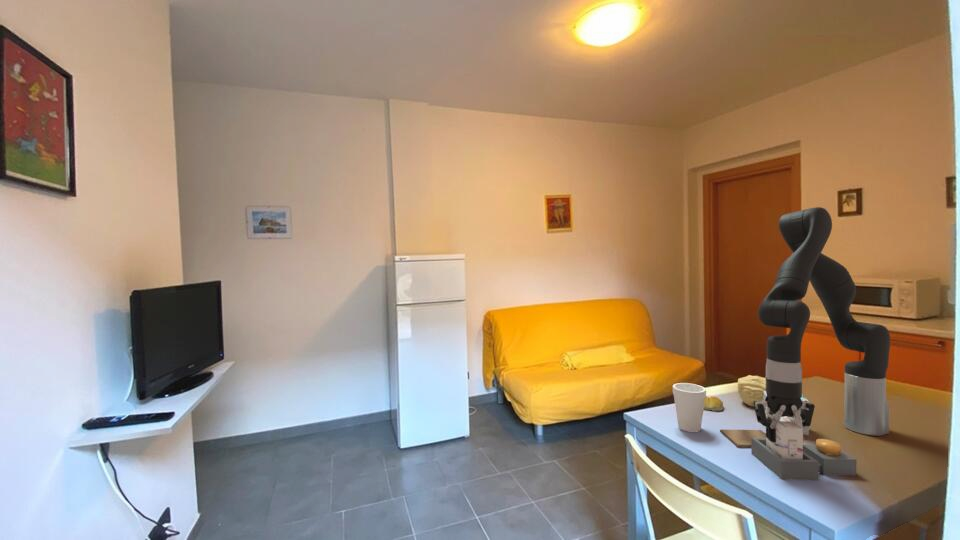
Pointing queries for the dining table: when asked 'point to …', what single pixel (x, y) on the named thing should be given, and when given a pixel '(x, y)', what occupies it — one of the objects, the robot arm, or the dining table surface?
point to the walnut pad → (743, 436)
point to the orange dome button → (828, 447)
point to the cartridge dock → (803, 462)
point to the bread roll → (713, 404)
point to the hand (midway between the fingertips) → (783, 440)
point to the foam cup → (689, 405)
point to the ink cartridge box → (788, 438)
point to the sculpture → (751, 389)
